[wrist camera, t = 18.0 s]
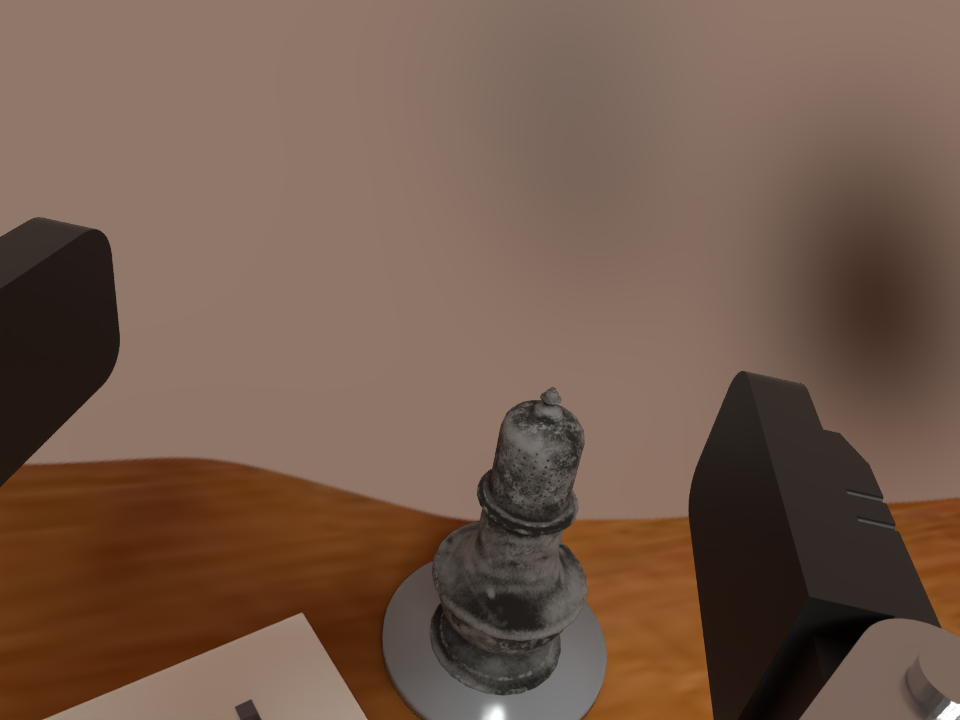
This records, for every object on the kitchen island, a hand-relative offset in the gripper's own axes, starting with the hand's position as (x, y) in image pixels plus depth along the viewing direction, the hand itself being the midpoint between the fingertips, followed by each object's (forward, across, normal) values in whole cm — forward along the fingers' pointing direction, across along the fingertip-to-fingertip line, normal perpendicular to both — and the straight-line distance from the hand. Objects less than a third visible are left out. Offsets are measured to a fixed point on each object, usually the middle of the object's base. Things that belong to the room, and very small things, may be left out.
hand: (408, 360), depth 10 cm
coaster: (+12, -3, +21) cm, 24 cm away
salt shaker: (+12, -3, +20) cm, 24 cm away
